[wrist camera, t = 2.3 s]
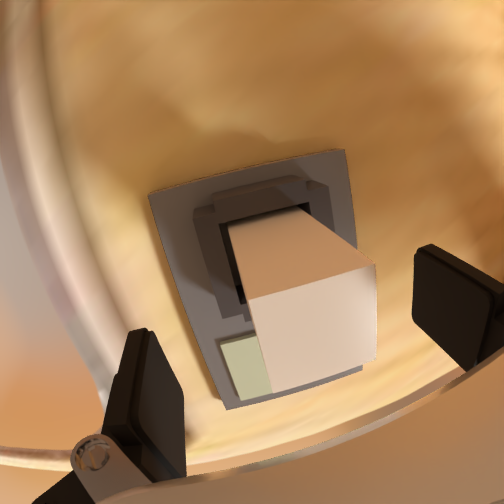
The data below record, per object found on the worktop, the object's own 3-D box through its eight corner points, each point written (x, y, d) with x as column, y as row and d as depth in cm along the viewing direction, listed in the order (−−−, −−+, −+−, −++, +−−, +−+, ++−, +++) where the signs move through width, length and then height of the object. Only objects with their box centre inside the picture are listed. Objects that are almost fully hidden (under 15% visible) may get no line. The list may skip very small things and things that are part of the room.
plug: (290, 201, 18) (375, 263, 9) (301, 262, 20) (375, 359, 10) (225, 218, 18) (248, 299, 9) (240, 278, 19) (272, 393, 10)
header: (337, 148, 19) (363, 151, 15) (357, 363, 25) (374, 388, 22) (150, 192, 18) (138, 203, 15) (225, 402, 24) (229, 432, 21)
